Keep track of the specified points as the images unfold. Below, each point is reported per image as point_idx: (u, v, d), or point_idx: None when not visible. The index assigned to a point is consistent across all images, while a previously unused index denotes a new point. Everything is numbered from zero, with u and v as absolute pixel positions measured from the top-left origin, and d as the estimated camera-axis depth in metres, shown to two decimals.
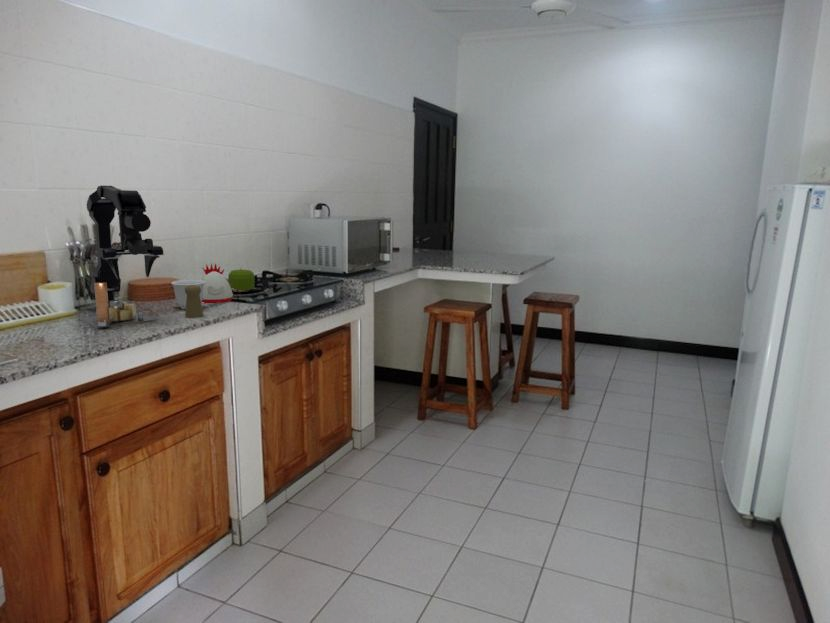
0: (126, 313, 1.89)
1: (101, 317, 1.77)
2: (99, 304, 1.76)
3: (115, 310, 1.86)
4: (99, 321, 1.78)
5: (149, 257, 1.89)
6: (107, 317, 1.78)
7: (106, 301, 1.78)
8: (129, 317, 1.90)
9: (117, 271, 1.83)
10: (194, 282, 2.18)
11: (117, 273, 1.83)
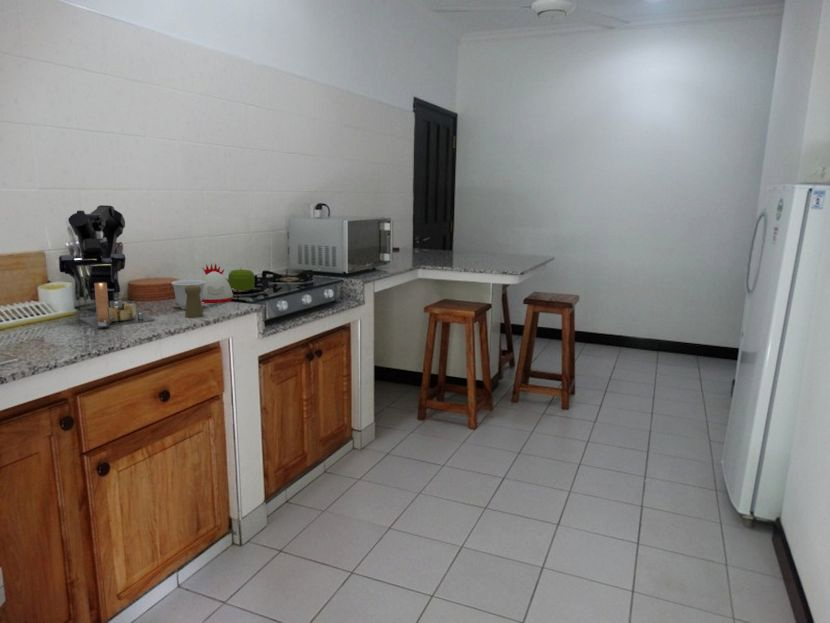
0: (126, 313, 1.89)
1: (101, 317, 1.77)
2: (99, 304, 1.76)
3: (115, 310, 1.86)
4: (99, 321, 1.78)
5: (111, 263, 1.88)
6: (107, 317, 1.78)
7: (106, 301, 1.78)
8: (129, 317, 1.90)
9: (78, 275, 1.81)
10: (194, 282, 2.18)
11: (78, 277, 1.81)
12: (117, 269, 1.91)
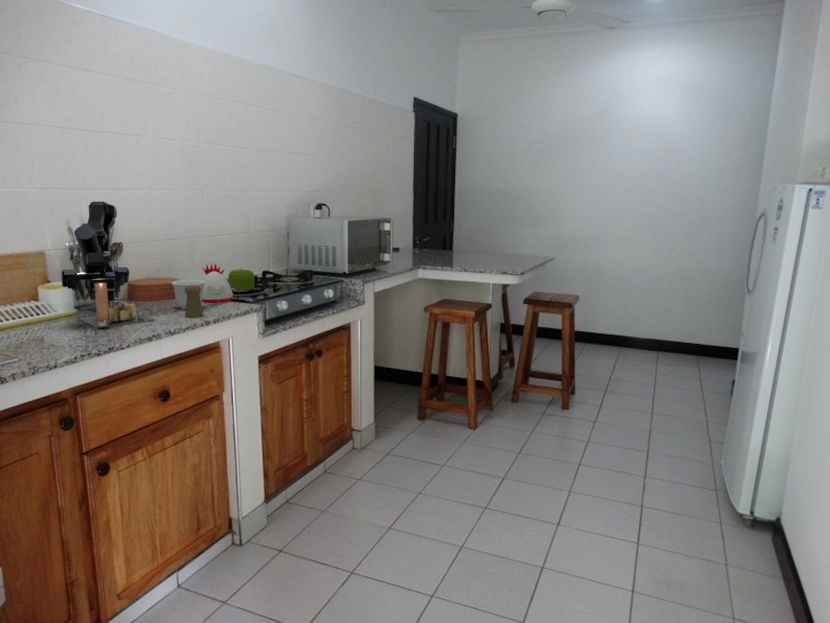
0: (126, 313, 1.89)
1: (101, 317, 1.77)
2: (99, 304, 1.76)
3: (115, 310, 1.86)
4: (99, 321, 1.78)
5: (115, 277, 1.84)
6: (107, 317, 1.78)
7: (106, 301, 1.78)
8: (129, 317, 1.90)
9: (80, 290, 1.77)
10: (194, 282, 2.18)
11: (81, 292, 1.77)
12: (121, 283, 1.88)
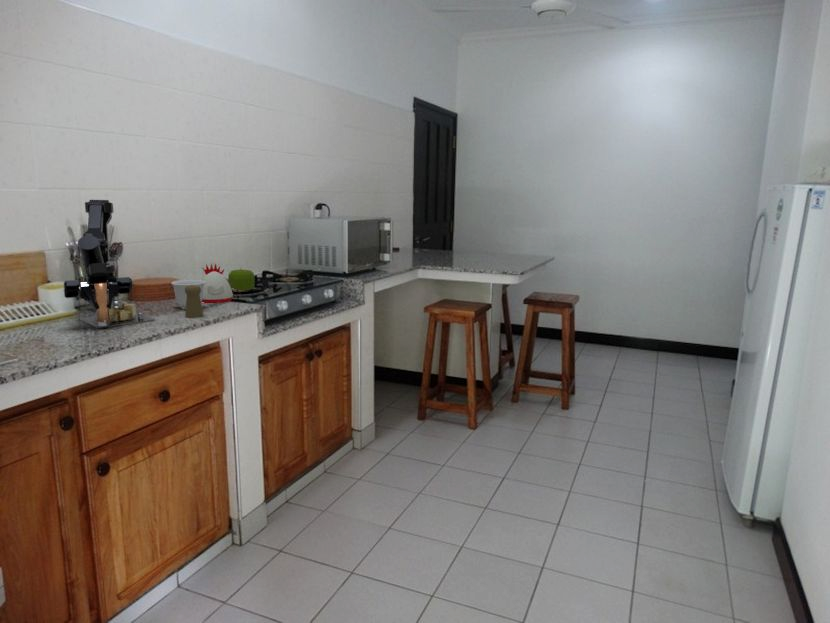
0: (126, 313, 1.89)
1: (101, 317, 1.77)
2: (99, 304, 1.76)
3: (115, 310, 1.86)
4: (99, 321, 1.78)
5: (108, 288, 1.80)
6: (107, 317, 1.78)
7: (106, 301, 1.78)
8: (129, 317, 1.90)
9: (93, 300, 1.76)
10: (194, 282, 2.18)
11: (94, 302, 1.76)
12: (114, 294, 1.84)
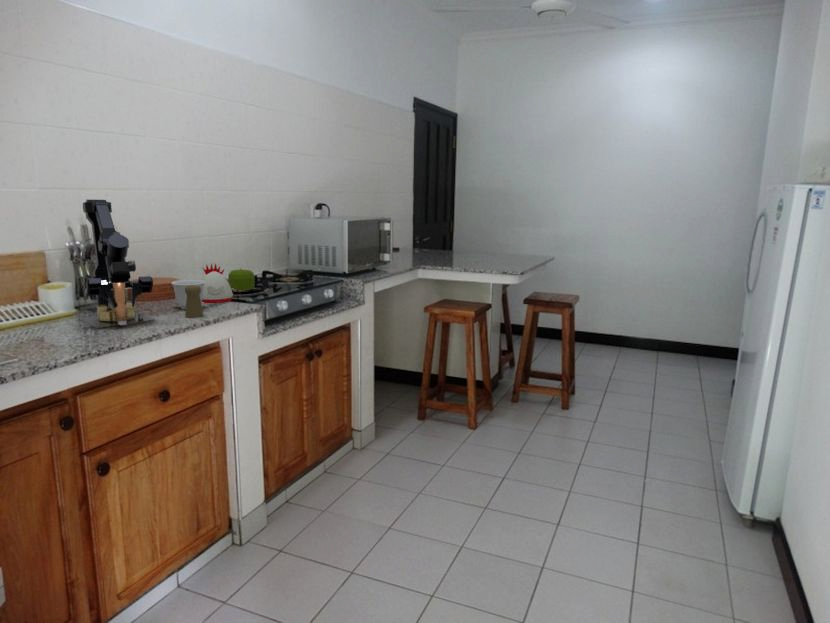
0: (131, 312, 1.91)
1: (122, 316, 1.79)
2: (120, 303, 1.79)
3: None
4: (119, 320, 1.79)
5: (132, 286, 1.83)
6: (126, 316, 1.81)
7: (125, 300, 1.80)
8: (133, 316, 1.92)
9: (112, 298, 1.78)
10: (194, 282, 2.18)
11: (112, 300, 1.78)
12: (138, 293, 1.86)
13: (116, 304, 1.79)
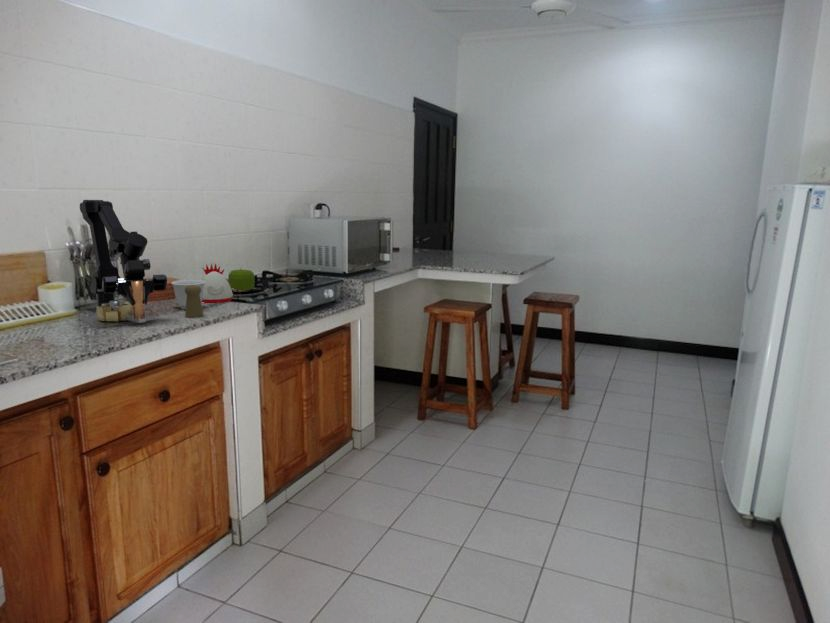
0: None
1: (142, 314, 1.84)
2: (141, 301, 1.83)
3: (129, 308, 1.90)
4: (140, 318, 1.84)
5: (144, 284, 1.86)
6: (144, 313, 1.85)
7: (143, 297, 1.85)
8: None
9: (130, 296, 1.82)
10: (194, 282, 2.18)
11: (130, 298, 1.82)
12: (150, 291, 1.89)
13: (136, 302, 1.82)
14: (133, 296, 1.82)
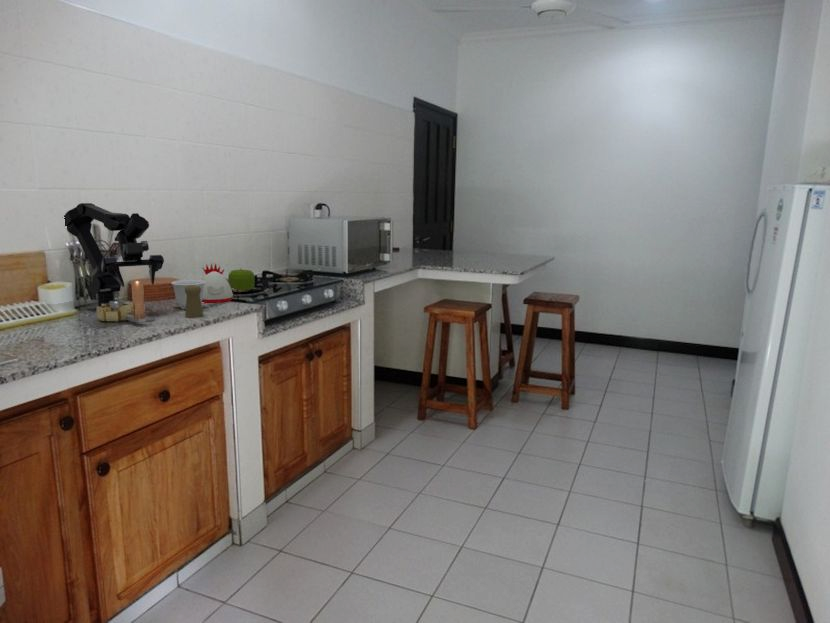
0: None
1: (142, 314, 1.84)
2: (141, 301, 1.83)
3: (129, 308, 1.90)
4: (140, 318, 1.84)
5: (151, 265, 1.96)
6: None
7: None
8: None
9: (120, 277, 1.89)
10: (194, 282, 2.18)
11: (121, 279, 1.89)
12: (155, 270, 1.99)
13: (136, 302, 1.82)
14: (133, 296, 1.82)
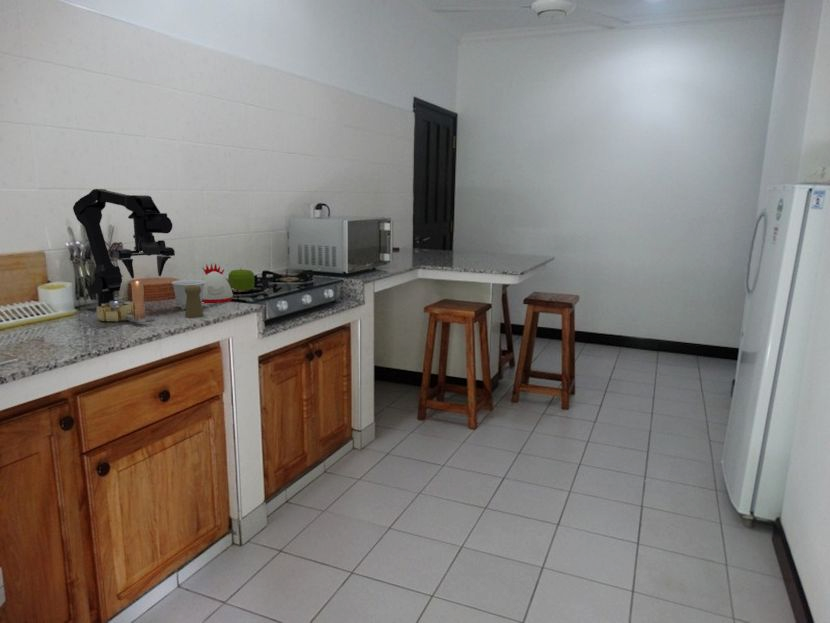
0: None
1: (142, 314, 1.84)
2: (141, 301, 1.83)
3: (129, 308, 1.90)
4: (140, 318, 1.84)
5: (161, 258, 2.02)
6: None
7: None
8: None
9: (132, 271, 1.96)
10: (194, 282, 2.18)
11: (132, 273, 1.96)
12: None
13: (136, 302, 1.82)
14: (133, 296, 1.82)
